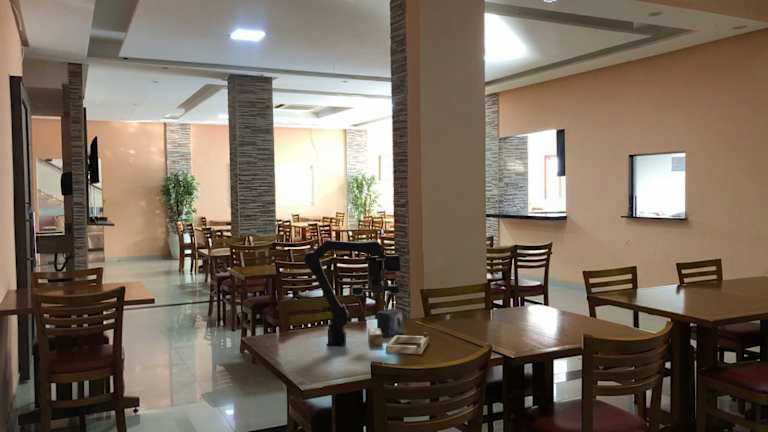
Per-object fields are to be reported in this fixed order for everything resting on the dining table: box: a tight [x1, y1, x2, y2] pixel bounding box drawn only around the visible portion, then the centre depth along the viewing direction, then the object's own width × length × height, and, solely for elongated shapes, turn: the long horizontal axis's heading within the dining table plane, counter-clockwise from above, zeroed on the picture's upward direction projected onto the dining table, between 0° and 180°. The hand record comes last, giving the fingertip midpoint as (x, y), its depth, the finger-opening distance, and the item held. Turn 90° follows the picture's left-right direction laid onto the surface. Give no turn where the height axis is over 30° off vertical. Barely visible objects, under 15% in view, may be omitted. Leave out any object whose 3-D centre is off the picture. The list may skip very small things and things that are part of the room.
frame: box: [367, 327, 383, 348], centre depth 249 cm, size 5×12×5 cm, turn 4°
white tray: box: [385, 331, 429, 355], centre depth 242 cm, size 14×19×4 cm
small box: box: [376, 308, 403, 339], centre depth 263 cm, size 11×6×10 cm, turn 143°
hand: (375, 311), depth 249 cm, fingers open, 9 cm apart
